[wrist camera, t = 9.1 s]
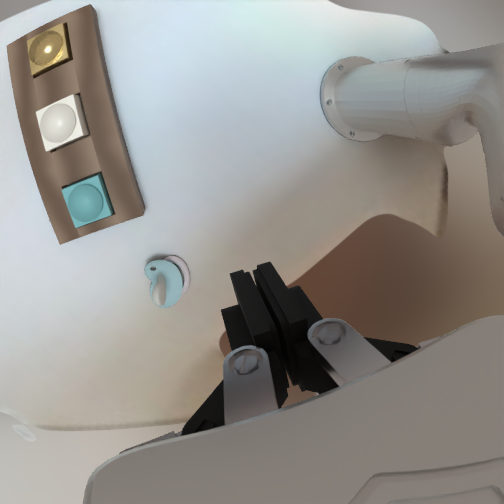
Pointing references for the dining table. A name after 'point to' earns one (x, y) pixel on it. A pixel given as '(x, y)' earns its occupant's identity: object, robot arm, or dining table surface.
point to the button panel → (83, 149)
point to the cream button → (62, 122)
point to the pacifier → (167, 280)
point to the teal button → (88, 200)
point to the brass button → (49, 49)
